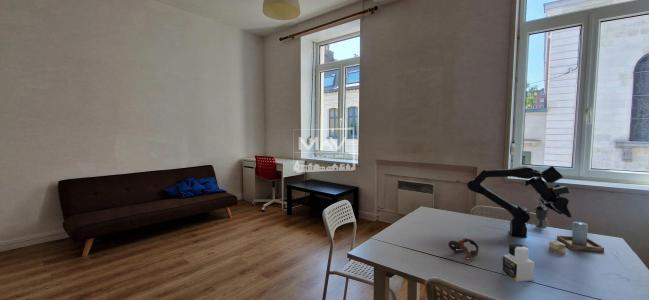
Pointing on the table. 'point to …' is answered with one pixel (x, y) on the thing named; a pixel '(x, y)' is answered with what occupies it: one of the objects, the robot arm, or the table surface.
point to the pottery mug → (464, 247)
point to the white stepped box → (518, 263)
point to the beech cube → (557, 247)
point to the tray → (590, 246)
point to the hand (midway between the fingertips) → (565, 215)
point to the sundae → (541, 214)
